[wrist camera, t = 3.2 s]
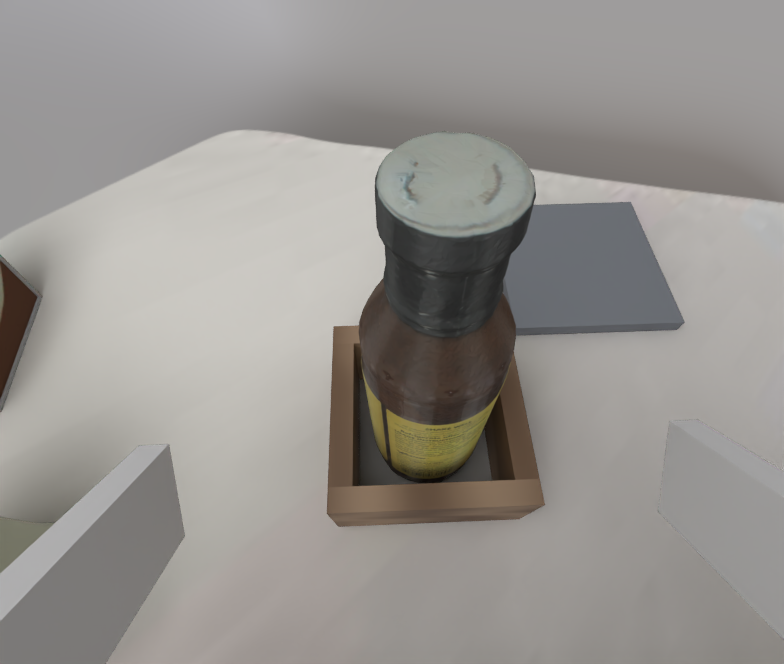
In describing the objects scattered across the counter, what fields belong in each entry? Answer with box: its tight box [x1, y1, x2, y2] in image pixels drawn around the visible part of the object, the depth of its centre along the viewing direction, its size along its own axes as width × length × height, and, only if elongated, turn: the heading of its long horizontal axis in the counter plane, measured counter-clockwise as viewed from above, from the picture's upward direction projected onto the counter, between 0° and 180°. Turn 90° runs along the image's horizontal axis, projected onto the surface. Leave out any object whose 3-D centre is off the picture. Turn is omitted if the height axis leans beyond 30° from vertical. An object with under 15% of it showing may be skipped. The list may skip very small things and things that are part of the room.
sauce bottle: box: [359, 131, 536, 483], centre depth 19 cm, size 6×6×20 cm
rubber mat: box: [503, 202, 685, 335], centre depth 34 cm, size 12×12×1 cm
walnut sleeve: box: [327, 326, 545, 527], centre depth 25 cm, size 10×10×5 cm
